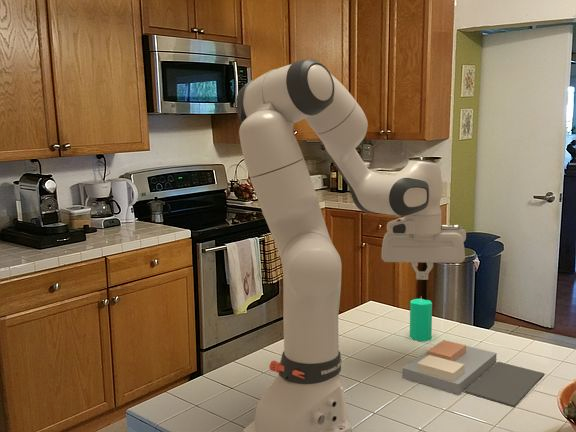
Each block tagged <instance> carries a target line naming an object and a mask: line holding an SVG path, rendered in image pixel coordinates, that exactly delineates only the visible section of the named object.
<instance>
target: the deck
mask: <svg viewBox="0 0 576 432" xmlns="http://www.w3.org/2000/svg"><path fill="white" fill-rule="evenodd" d="M497 355H498V353H497V352H493V351H489V350H486V349H481V348H477V347H473V346H469V345H466V353H465V354H464V355H463V356H461V357H460V358H459V359H457V360H456V361H454V362H458V363H461V364H465V373H463V374H462V375H461V376H460V377H458V378H457V379H456V380H455V381H449V380H446V379H442V378H439V377H435V376H432V375H428V374H425V373H422V372H418V371H417V363H418V362H419V361H421V360H422V359H424V358H425V357H427V351H425V353H423V354H421V355H420V356H419V357H417V358H415V359H414V360H412V361H411V362H409V363H408V364H406V365H404V366H403V367H402V371H401V372H402V373H401V374H402V375H401V377H402V379H404V378H405V379H404V380H408V381H411V382H414V381H415V383H418V384H421V385H424V386H427V385H428V386H427V387H431V388H435V389H437V390H441V391H444V392H448V393H451V394H454V395H457V396H459V395H460V394H462V393H463V392H464V390H466V389H467V388H468V387H469V386H470V385H472V384H473V383H474V382H475V381H476V380H477V379H479V378H480V377H481V376H482V375H483V374H484V373H486V372H487V371H488V370H489V369H490V368H491V367H493V366H494V365H495V364H496V363H497Z"/></svg>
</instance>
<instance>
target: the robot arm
mask: <svg viewBox="0 0 576 432" xmlns="http://www.w3.org/2000/svg"><path fill="white" fill-rule="evenodd" d="M235 102H236V104H235V105H236V112H237V116H238V118H239V121H240V123H241V124H240V126H239V130H238V136H239V141H240V147H241V153H242V156H243V160H244V164H245V166H246V170H247V173H248V176H249V179H250V181H251V184H252V187H253V190H254V192H255V196H256V197H257V201H258V204H259V206H260V209H261V211H262V215H263V217H264V219H265V221H266V222H265V223H266V224H267V226H268V229H269V231H270V234H271V236H272V239H273V242H274V244H275V247H276V249H277V252H278V254H279V258H280V262H281V265H282V266H281V267H282V278H283V280H282V283H283V285H282V286H283V287H282V289H283V290H282V291H283V293H282V295H283V299H282V300H283V304H282V305H283V309H282V310H283V312H282V313H283V314H282V318H283V320H282V321H283V351H282V353H281V359H280V361H279V362H278V361H276V360H271V362H270V364H269V370H270V371H271V372H275V373H277V376H276V377H275V379H274V380H272V383H271V384H270V385H269V387H268V388H267V390H265V393H264V394H263V396H262V397H261V398H260V399H259V400H258V403H256V408H255V414H254V420H253V421H251V422H250V423H249V424H248V425H247V426H245V427H244V429H243V430H242V432H352V430H353V429H352V424H351V423H350V421H349V420H348V413H347V412H348V411H347V404H346V403H347V402H346V395H345V388H344V385H343V383H342V380H341V379H342V378H341V375H340V374H341V372H342V357H341V356H342V355H341V351H340V350H339V349H340V348H339V312H340V311H339V310H340V304H341V303H340V302H341V301H340V300H341V290H342V289H341V288H342V270H343V269H342V268H343V266H342V260H341V256H340V254H339V252H338V250H337V249H336V247H335V245H334V244H333V242H332V239H331V237H330V234H329V231H328V227H327V225H326V220H325V218H324V216H323V211H322V209H321V205H320V202H319V199H318V195H317V191H316V189H315V186H314V182H313V181H312V177H311V175H310V172H309V169H308V166H307V163H306V161H305V157H304V155H303V153H302V152H303V151H302V149H301V147H300V145H299V143H298V140H297V138H296V135H295V134H294V124H296V123H298V122H301V121H303V120H305V122H306V123H307V124H308V126H309V127H310V128H311V129H312V130H313V132H314V133H315V135H317V137H318V138H319V139H320V140H321V143H322V144H323V148H324V149H325V152H326V154H327V156H328V158H329V159H330V160H331V162H332V163H333V165H334V167H335V169H336V170H337V171H338V173H339V174H340V175H341V177H342V178H343V180H344V181H345V183H346V185H347V187H348V190H349V192H350V195H351V198H352V201H353V203H354V205H355V206H356V207H357V208H358V210H360V211H362V212H364V213H371V214H373V213H375V214H376V213H377V214H383V215H387V216H388V215H389V216H396V217H399V218H397V219H393V220H390V221H388V222H387V224H386V232H385V234H384V236H383V239H382V243H381V260H382V261H383V262H385V263H411V266H412V268H413V270H414V272H415V279H416V280H417V281H419V280H421V281H422V280H423V281H425V280H427V281H428V280H429V274H430V272H431V271H432V269H434V264H435V263H437V264H438V263H439V264H441V263H443V264H444V263H446V264H447V263H448V264H451V263H453V264H458V263H459V264H462V263H463V262H464V261H465V260H466V253H465V252H466V251H465V244H464V242H465V241H466V240H467V231H466V229H465V228H464V227H463V226H461V225H459V224H454V225H453V224H442V209H441V200H442V197H443V196H442V195H443V179H442V171H441V168H440V165H439V164H438V162H436V161H433V160H428V159H427V160H426V159H419V158H418V159H417V158H413V159H409V160H408V161H407V164H406V165H405V166H404V167H403V168H402V169H401V170H399V171H398V172H396V173H394V174H385V173H378V172H376V171H373V170H371V169H369V168H368V167H367V165H366V164H365V162H364V160H363V159H362V157H361V155H360V154H359V153H358V150H357V149H356V148H358V146H359V145H360V144H361V143H362V142H363V140H364V139H365V137H366V135H367V130H368V128H369V127H368V126H369V125H368V124H369V123H368V122H369V121H368V118H367V117H366V114H365V112H364V111H363V108H362V107H361V106H360V104H359V103H358V102H357V100H356V99H355V98H354V96H353V95H352V94H351V92H349V90H348V89H347V88H346V87H345V86H344V84H342V83H341V81H339V79H337V78H336V77H335V76H334V75H333V74H332V73H331V72H330V70H328V68H327V67H326V66H325V65H323V64H322V63H321V62H320V61H318V60H316V59H312V58H310V59H309V58H306V59H300V60H295V61H294V62H292V63H290V64H287V65H284V66H281V67H278V68H273V69H271V70H269V71H267V72H265V73H263V74H262V75H260V76H258V77H256V78H255V79H251V80H250V81H248V82H246V83H245V84H244V85H243V86H242V87H241V89H239V91H238V92H237V95H236V101H235ZM419 263H426V266H427V267H426V270H424V271H423V270H422V271H420V270H419V269H418V266H419Z"/></svg>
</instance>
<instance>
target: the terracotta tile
mask: <svg viewBox="0 0 576 432" xmlns="http://www.w3.org/2000/svg"><path fill="white" fill-rule="evenodd" d="M466 346H467V345H466V344H461V343H458V342H454V341H449V340H445V339H443V340H442V341H440V342H439V343H437V344H436V345H434V346H432V347H431V348H429V349H428V350H427V351H426V352H427V356H428V355H431V356H435V357H439V358H443V359H446V360H450V361H456V360H457V359H459V358H460V357H461V356H463V355H464V354H465V353H466Z"/></svg>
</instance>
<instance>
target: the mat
mask: <svg viewBox="0 0 576 432" xmlns="http://www.w3.org/2000/svg"><path fill="white" fill-rule="evenodd" d="M544 376H545V373H544V372H541V371H536V370H533V369H530V368H529V369H528V368H525V367H521V366H517V365H513V364H509V363H506V362H505V363H504V362H502V361H496V363H495V364H494V365H493V366H492V367H491V368H489V369H488V370H487V371H486V372H485V373H484V374H482V375H481V376H480V377H479V378H478V379H476V380H475V381H474V382H473V383H472V384H471V385H469V386H468V387H467V388H466V389H465V390H464V391H463V392H464V393H465V394H469V395H472V396H475V397H478V398H482V399H486V400H489V401H492V402H495V403H498V404H502V405H506V406H509V407H512V408H515V407H516V406H517V405H518V404H519V403H520V402H521V401H522V400H523V398H524V397H525V396H526V395H528V393H529V392H530V391H531V390H532V389H533V387H534V386H536V384H537V383H538V382H540V380H541V379H542V378H543V377H544Z"/></svg>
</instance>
